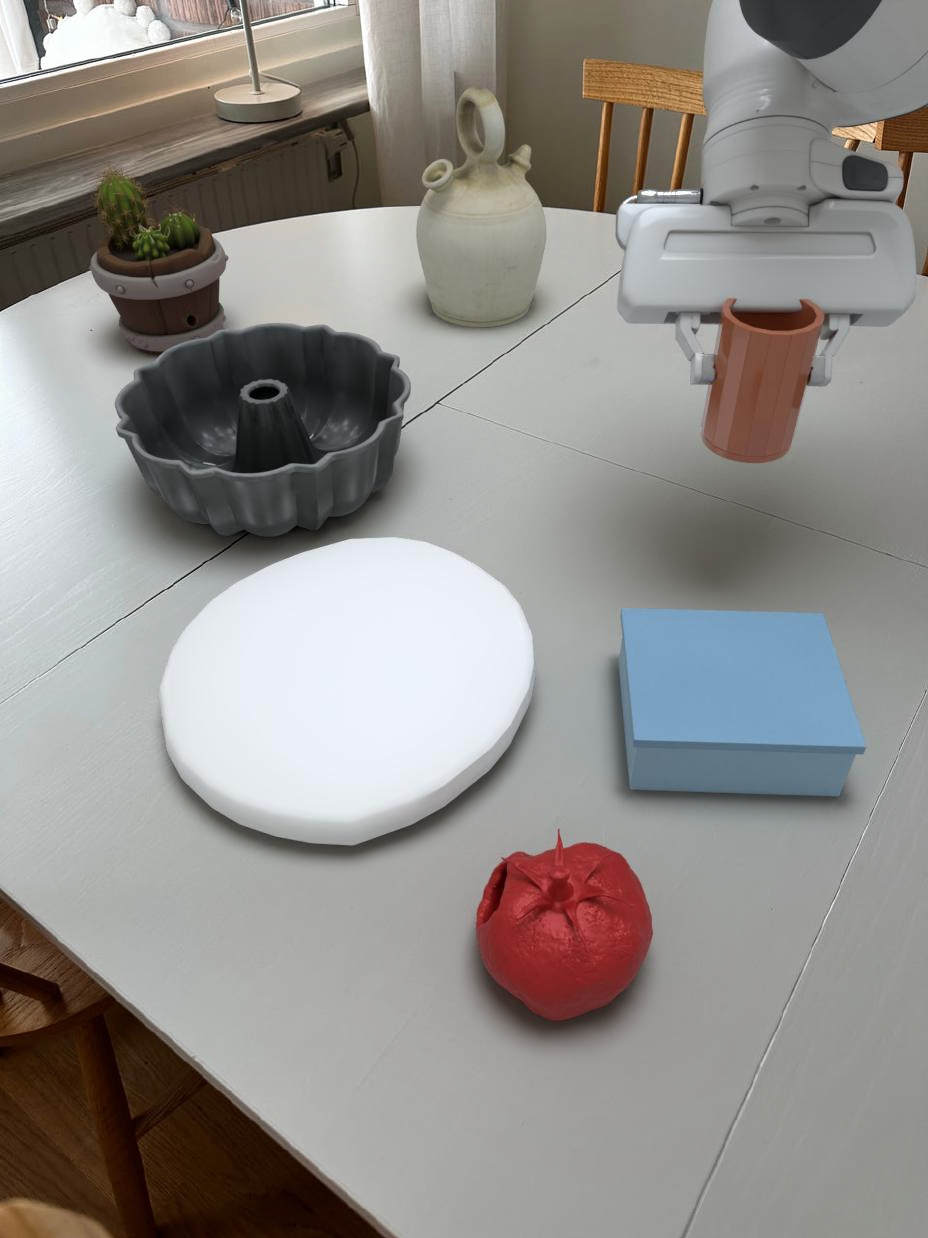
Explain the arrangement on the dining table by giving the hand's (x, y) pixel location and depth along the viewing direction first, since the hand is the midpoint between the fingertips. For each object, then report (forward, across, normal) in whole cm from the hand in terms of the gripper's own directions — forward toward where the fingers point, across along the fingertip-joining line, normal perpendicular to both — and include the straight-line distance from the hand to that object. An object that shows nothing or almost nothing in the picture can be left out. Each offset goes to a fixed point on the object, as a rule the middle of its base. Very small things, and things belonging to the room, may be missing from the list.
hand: (760, 383), depth 69 cm
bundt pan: (+4, -40, +24) cm, 47 cm away
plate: (+23, -29, +4) cm, 37 cm away
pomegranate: (+37, -14, -10) cm, 41 cm away
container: (+24, -2, +3) cm, 25 cm away
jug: (-23, -22, +51) cm, 60 cm away
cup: (+3, 0, +4) cm, 5 cm away
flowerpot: (-17, -58, +44) cm, 75 cm away
